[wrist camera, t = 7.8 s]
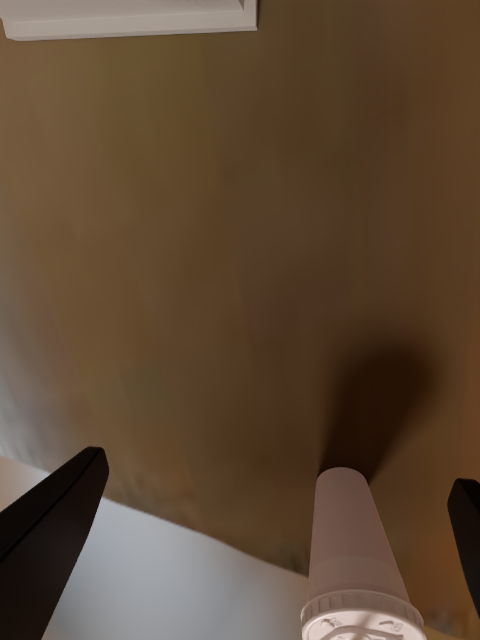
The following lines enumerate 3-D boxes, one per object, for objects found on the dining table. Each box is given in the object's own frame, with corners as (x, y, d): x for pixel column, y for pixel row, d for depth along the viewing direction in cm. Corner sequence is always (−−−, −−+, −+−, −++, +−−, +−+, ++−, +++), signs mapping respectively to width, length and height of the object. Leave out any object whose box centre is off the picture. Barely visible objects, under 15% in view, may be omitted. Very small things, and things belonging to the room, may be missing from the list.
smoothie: (287, 461, 27) (284, 735, 15) (377, 447, 26) (455, 741, 14) (310, 516, 30) (323, 789, 18) (393, 507, 28) (471, 801, 16)
